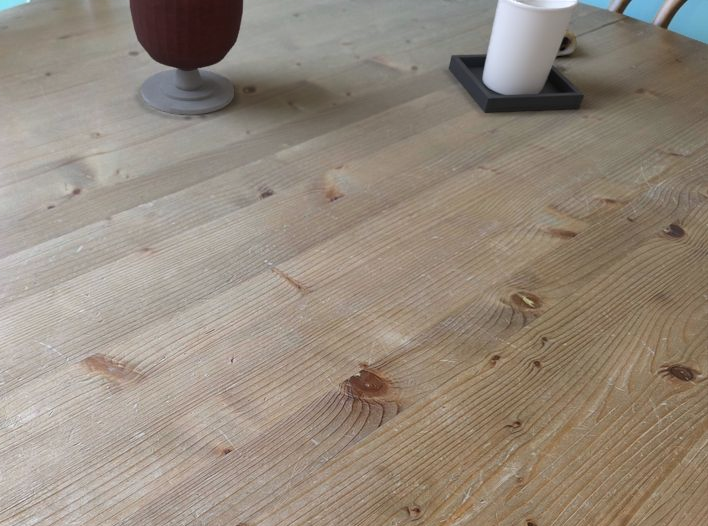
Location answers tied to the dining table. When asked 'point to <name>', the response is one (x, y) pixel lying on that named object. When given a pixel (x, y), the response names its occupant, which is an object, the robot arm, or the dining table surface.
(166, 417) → the dining table surface
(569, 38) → the pastry
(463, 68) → the shallow tray
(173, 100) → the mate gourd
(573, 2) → the white cup
